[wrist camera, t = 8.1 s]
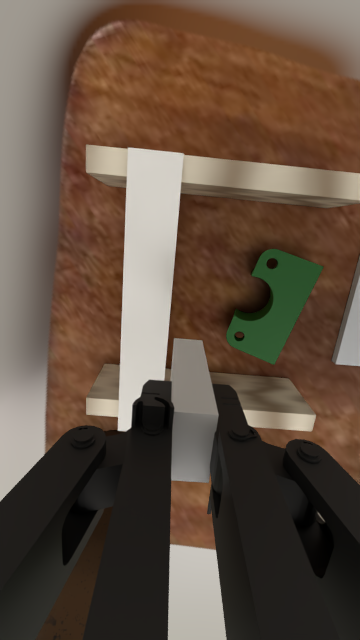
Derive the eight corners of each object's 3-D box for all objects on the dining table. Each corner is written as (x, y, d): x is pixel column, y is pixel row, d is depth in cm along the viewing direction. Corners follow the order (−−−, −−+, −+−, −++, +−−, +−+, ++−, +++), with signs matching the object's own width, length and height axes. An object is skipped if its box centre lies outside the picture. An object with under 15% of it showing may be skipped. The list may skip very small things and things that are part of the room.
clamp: (255, 261, 39) (271, 229, 30) (299, 278, 38) (329, 250, 29) (219, 345, 37) (225, 338, 28) (264, 365, 36) (285, 364, 27)
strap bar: (183, 161, 24) (183, 153, 21) (161, 417, 31) (159, 433, 28) (133, 155, 23) (127, 147, 21) (122, 414, 30) (117, 430, 28)
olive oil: (169, 454, 42) (158, 749, 18) (123, 498, 44) (61, 811, 20) (109, 412, 40) (8, 684, 16) (65, 460, 42) (-82, 761, 18)
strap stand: (331, 188, 32) (379, 175, 24) (285, 391, 39) (311, 431, 32) (108, 165, 31) (86, 144, 23) (104, 377, 38) (86, 414, 31)
